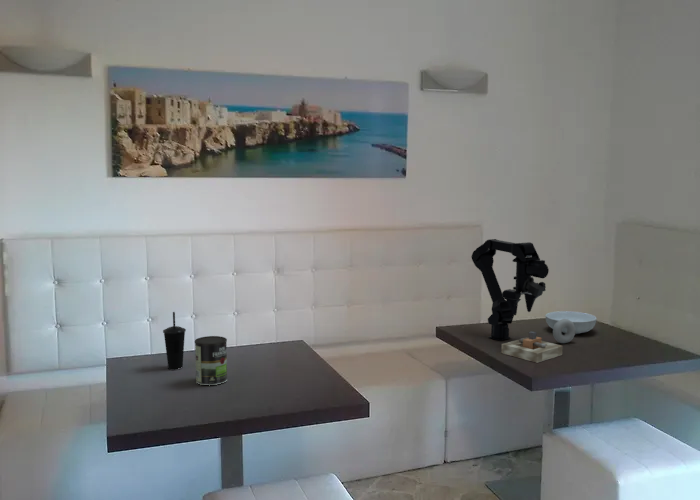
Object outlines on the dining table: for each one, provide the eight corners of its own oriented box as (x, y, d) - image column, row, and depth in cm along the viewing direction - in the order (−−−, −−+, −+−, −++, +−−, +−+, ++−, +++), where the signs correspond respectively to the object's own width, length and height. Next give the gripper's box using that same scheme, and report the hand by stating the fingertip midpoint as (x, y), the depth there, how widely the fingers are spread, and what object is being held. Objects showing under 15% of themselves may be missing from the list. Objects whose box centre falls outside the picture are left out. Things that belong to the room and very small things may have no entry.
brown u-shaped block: (522, 351, 249) (523, 333, 248) (534, 347, 253) (535, 329, 253) (529, 352, 246) (530, 334, 246) (541, 349, 251) (541, 331, 250)
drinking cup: (190, 365, 234) (189, 310, 232) (178, 372, 227) (176, 315, 225) (172, 363, 237) (170, 309, 234) (159, 369, 230) (157, 313, 227)
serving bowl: (560, 323, 299) (561, 308, 298) (604, 332, 284) (605, 316, 283) (535, 331, 285) (535, 315, 284) (580, 340, 270) (581, 324, 269)
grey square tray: (501, 353, 251) (501, 340, 251) (526, 345, 261) (527, 333, 261) (537, 362, 239) (537, 349, 238) (562, 354, 249) (562, 341, 249)
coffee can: (234, 379, 219) (233, 338, 218) (212, 388, 211) (211, 345, 209) (211, 374, 225) (210, 334, 223) (189, 382, 216) (187, 340, 214)
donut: (571, 341, 269) (572, 317, 267) (576, 343, 265) (577, 319, 264) (550, 343, 266) (551, 318, 264) (555, 345, 262) (556, 320, 261)
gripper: (526, 279, 246) (524, 320, 248) (555, 274, 258) (553, 313, 260) (502, 275, 255) (500, 315, 257) (531, 271, 267) (529, 308, 269)
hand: (521, 313), depth 261 cm, fingers open, 9 cm apart
